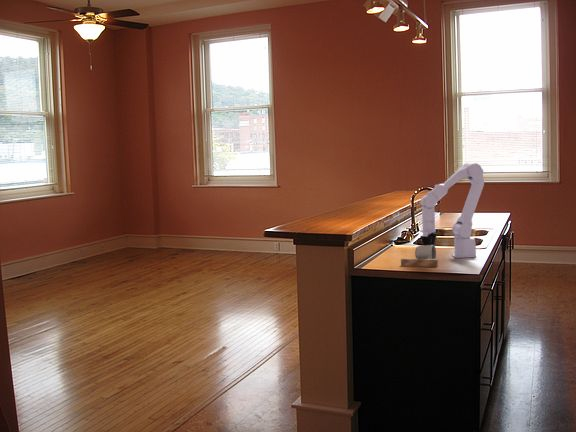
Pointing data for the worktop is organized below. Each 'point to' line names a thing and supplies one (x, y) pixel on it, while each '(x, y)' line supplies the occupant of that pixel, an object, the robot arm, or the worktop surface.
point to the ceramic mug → (425, 252)
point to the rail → (419, 262)
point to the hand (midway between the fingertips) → (429, 249)
